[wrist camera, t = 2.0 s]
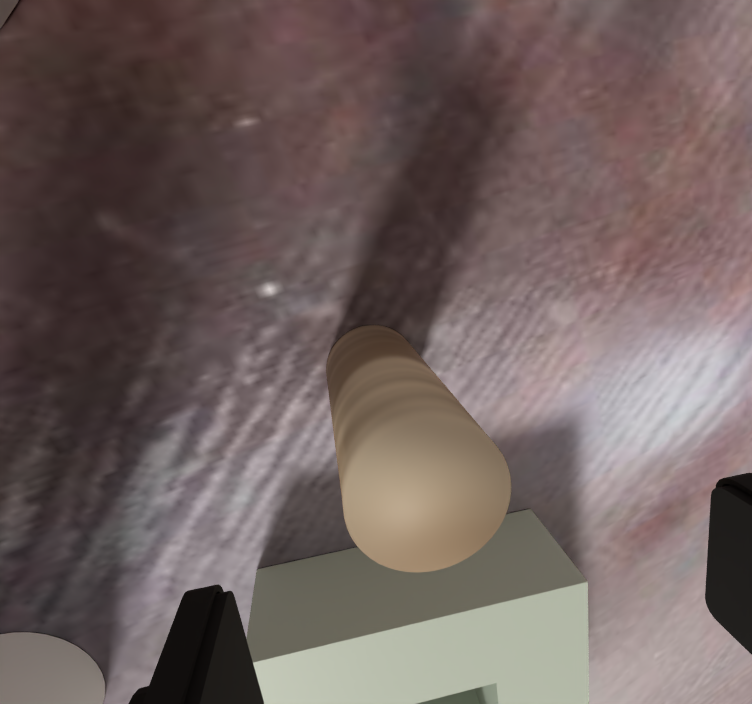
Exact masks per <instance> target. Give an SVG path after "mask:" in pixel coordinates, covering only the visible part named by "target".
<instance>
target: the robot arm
mask: <svg viewBox="0 0 752 704" xmlns="http://www.w3.org/2000/svg"><path fill="white" fill-rule="evenodd" d="M18 1H19V0H0V28H1V27H2V25H3V24H4V22H5V21H6V19H7V18H8V16H9V15H10V13H11V12H12V10H13V9H14V7H15V6H16V4H17V3H18ZM705 600H706V604H707V607H708V609H709V611H710V613H711V614H712V616H713V617H714V618H715V619H716V620H717V621H718V622H719V623H720V624H721V625H722V626H723V627H724V628H725V629H726V630H727V631H728V632H729V633H730V634H731V635H732V636H733V637H734V638H735V639H736V640H737V641H738V642H739V643H740V644H741V645H742V646H743V647H744V648H745V649H747V650H748V651H749V652H750V653H751V654H752V473H746V474H741V475H736V476H732V477H727V478H723V479H720V480H719V481H718V482H717V484H716V488H715V489H714V490H713V491H712V494H711V505H710V523H709V540H708V558H707V575H706V592H705ZM129 704H264V701H263V697H262V693H261V690H260V686H259V683H258V679H257V675H256V672H255V668H254V665H253V661H252V658H251V654H250V650H249V647H248V643H247V640H246V636H245V633H244V629H243V626H242V622H241V618H240V615H239V611H238V608H237V604H236V601H235V597H234V594H233V592H232V591H227V592H223V589H222V587H221V586H220V585H213V586H209V587H204V588H199V589H194V590H190V591H187V592H186V593H185V594H184V596H183V597H182V600H181V603H180V605H179V608H178V611H177V613H176V616H175V619H174V621H173V624H172V627H171V629H170V632H169V634H168V637H167V640H166V642H165V645H164V648H163V650H162V653H161V656H160V658H159V661H158V664H157V666H156V669H155V672H154V674H153V677H152V680H151V682H150V685H149V686H147V687H143V688H140V689H138V690H137V691H136V693H135V694H134V695H133V696H132V698H131V700H130V702H129Z"/></svg>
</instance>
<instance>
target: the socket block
mask: <svg viewBox="0 0 752 704" xmlns="http://www.w3.org/2000/svg"><path fill="white" fill-rule="evenodd" d="M246 640H247V643H248V647H249V650H250V654H251V658H252V661H253V665H254V668H255V672H256V675H257V679H258V683H259V686H260V690H261V693H262V697H263V701H264V704H589V659H588V581H587V580H586V579H585V578H584V576H583V575H582V574H581V572H580V571H579V570H578V569H577V567H576V566H575V565H574V564H573V562H572V561H571V560H570V558H569V557H568V556H567V555H566V553H565V552H564V551H563V549H562V548H561V547H560V546H559V544H558V543H557V542H556V541H555V539H554V538H553V537H552V535H551V534H550V533H549V532H548V530H547V529H546V528H545V526H544V525H543V524H542V523H541V521H540V520H539V519H538V518H537V516H536V515H535V514H534V512H533V511H532V510H531V509H527V510H523V511H518V512H514V513H509V514H506V515H505V517H504V520H503V522H502V523H501V525H500V527H499V528H498V530H497V531H496V533H495V534H494V535H493V537H492V538H491V539H490V540H489V541H488V542H487V543H486V544H485V545H484V546H483V547H482V548H481V549H480V550H478V551H477V552H476V553H474V554H473V555H471V556H470V557H468V558H467V559H465V560H463V561H461V562H459V563H457V564H455V565H452V566H450V567H447V568H443V569H440V570H435V571H430V572H418V573H417V572H404V571H398V570H394V569H391V568H388V567H385V566H383V565H381V564H378V563H377V562H375V561H374V560H372V559H370V558H369V557H368V556H367V555H365V554H364V553H363V552H362V551H361V550H360V549H359V548H358V547H356V548H351V549H347V550H342V551H338V552H333V553H329V554H324V555H320V556H315V557H311V558H306V559H302V560H297V561H293V562H288V563H284V564H279V565H275V566H270V567H266V568H261V569H257V572H256V578H255V585H254V592H253V598H252V605H251V612H250V619H249V625H248V632H247V639H246Z"/></svg>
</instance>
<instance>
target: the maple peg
mask: <svg viewBox="0 0 752 704" xmlns="http://www.w3.org/2000/svg"><path fill="white" fill-rule="evenodd" d="M326 374H327V382H328V390H329V398H330V407H331V415H332V423H333V431H334V439H335V447H336V455H337V463H338V471H339V479H340V487H341V495H342V503H343V511H344V519H345V523H346V526H347V529H348V531H349V534H350V536H351V538H352V539H353V541H354V542H355V544H356V545H357V546H358V548H359V549H360V550H361V551H362V552H363V553H364V554H365V555H367V556H368V557H369V558H370V559H372V560H374V561H375V562H377V563H378V564H381V565H383V566H385V567H388V568H391V569H394V570H398V571H404V572H417V573H418V572H430V571H435V570H440V569H443V568H447V567H450V566H452V565H455V564H457V563H459V562H461V561H463V560H465V559H467V558H468V557H470V556H471V555H473V554H474V553H476V552H477V551H478V550H480V549H481V548H482V547H483V546H484V545H485V544H486V543H487V542H488V541H489V540H490V539H491V538H492V537H493V535H494V534H495V533H496V531H497V530H498V528H499V527H500V525H501V523H502V522H503V520H504V517H505V515H506V513H507V510H508V506H509V503H510V497H511V478H510V472H509V469H508V465H507V463H506V461H505V458H504V456H503V455H502V453H501V452H500V450H499V449H498V447H497V446H496V445H495V444H494V443H493V441H492V440H491V439H490V438H489V437H488V436H487V434H486V433H485V432H484V431H483V430H482V428H481V427H480V426H479V425H478V424H477V423H476V421H475V420H474V419H473V418H472V417H471V416H470V414H469V413H468V412H467V411H466V410H465V408H464V407H463V406H462V405H461V404H460V403H459V401H458V400H457V399H456V398H455V397H454V396H453V394H452V393H451V392H450V391H449V390H448V388H447V387H446V386H445V385H444V384H443V383H442V381H441V380H440V379H439V378H438V377H437V376H436V374H435V373H434V372H433V371H432V370H431V368H430V367H429V366H428V365H427V364H426V363H425V361H424V360H423V359H422V358H421V357H420V355H419V354H418V353H417V352H416V351H415V350H414V348H413V347H412V346H411V345H410V344H409V343H408V341H407V340H406V339H405V338H404V337H403V336H402V335H401V334H399V333H398V332H396V331H395V330H393V329H391V328H388V327H385V326H380V325H366V326H361V327H358V328H355V329H353V330H351V331H349V332H347V333H346V334H344V335H343V336H342V337H341V338H340V339H339V340H338V341H337V342H336V343H335V345H334V346H333V348H332V349H331V352H330V354H329V356H328V360H327V365H326Z"/></svg>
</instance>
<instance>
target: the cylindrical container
mask: <svg viewBox="0 0 752 704" xmlns="http://www.w3.org/2000/svg"><path fill="white" fill-rule="evenodd" d="M104 697H105V681H104V678H103V674H102V672H101V670H100V669H99V667H98V665H97V664H96V662H95V661H94V660H93V659H92V658H91V657H90V656H89V655H88V654H87V653H86V652H84V651H83V650H81V649H80V648H79V647H77V646H76V645H74V644H71V643H69V642H67V641H65V640H63V639H60V638H57V637H53V636H50V635H46V634H39V633H31V632H13V633H6V634H0V704H103V701H104Z"/></svg>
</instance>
